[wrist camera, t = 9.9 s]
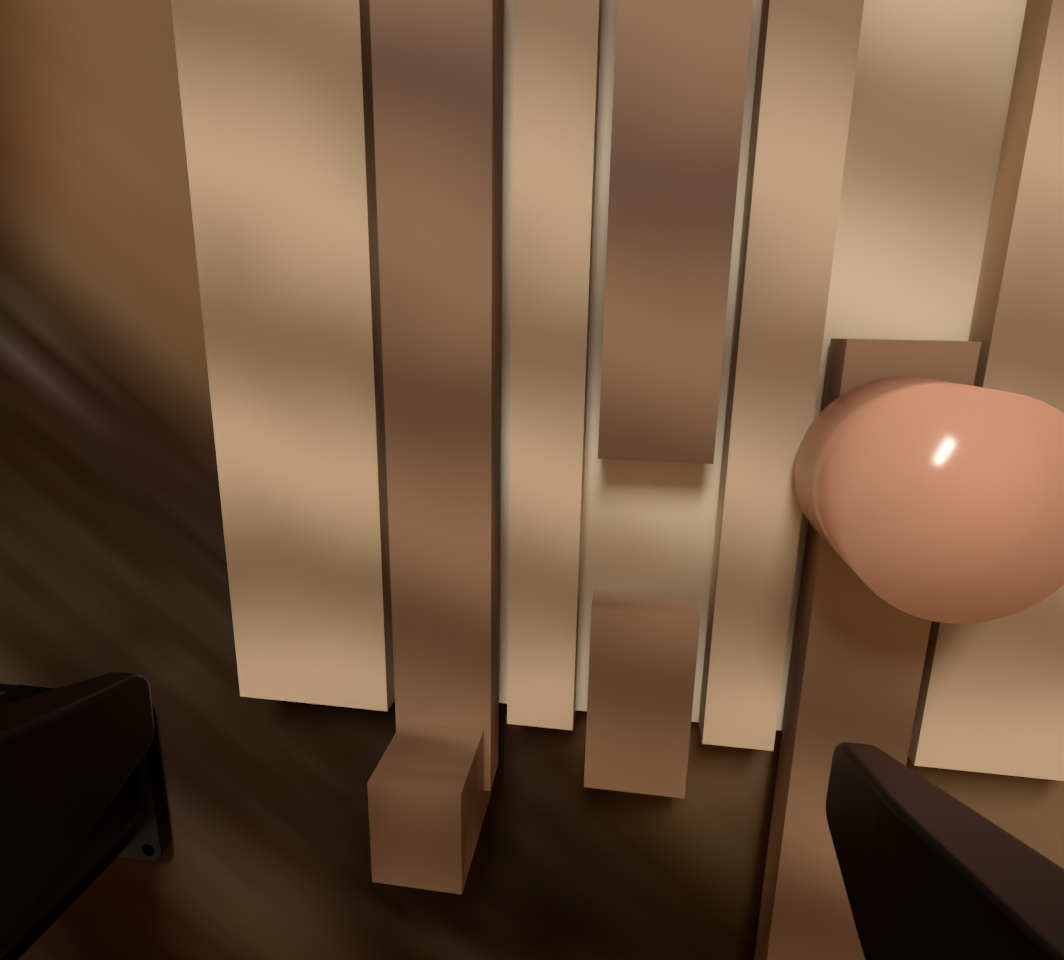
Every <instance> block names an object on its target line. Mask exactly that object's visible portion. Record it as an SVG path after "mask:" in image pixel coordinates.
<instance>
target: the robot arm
mask: <svg viewBox="0 0 1064 960" xmlns="http://www.w3.org/2000/svg"><path fill="white" fill-rule="evenodd" d="M153 735H154V721H153V712H152V703H151V693H150V686H149V682H148V680H147V679H146V678H145V677H144V676H142V675H140V674H131V673H121V672H113V673H109V674H105V675H102V676H99V677H95V678H92V679H89V680H85V681H82V682H79V683H75V684H72V685H68V686H65V687H62V688H58V689H54V688H44V687H35V686H25V685H18V686H16V685H7V684H0V960H18V959H19V958H20V957H21V956H22V955H23V954H24V953H25V952H26V951H27V950H28V949H29V948H30V947H31V946H32V945H33V944H34V943H35V942H36V941H37V940H38V938H39V937H40V936H41V935H42V934H43V933H44V932H45V931H46V930H47V929H48V928H49V927H50V926H51V925H52V924H53V923H54V922H55V921H56V920H57V919H58V918H59V917H60V916H61V915H62V914H63V913H64V911H65V910H66V909H67V908H68V907H69V906H70V905H71V904H72V903H73V902H74V901H75V900H76V899H77V898H78V897H79V896H80V895H81V894H82V893H83V892H84V891H85V890H86V889H87V888H88V887H89V886H90V884H91V883H92V882H93V881H94V880H95V879H96V878H97V877H98V876H99V875H100V874H101V873H102V872H103V871H104V870H105V869H106V868H107V867H108V866H109V865H110V864H111V863H112V862H113V861H114V860H115V858H116V857H122V858H129V859H136V860H143V861H150V862H152V861H156V860H158V859H159V858H160V857H161V856H162V855H163V854H164V852H165V851H166V850H167V848H168V838H167V830H166V823H165V816H164V808H163V801H162V794H161V787H160V779H159V772H158V765H157V758H156V750H155V743H154V736H153ZM826 817H827V822H828V826H829V830H830V834H831V837H832V841H833V845H834V848H835V852H836V856H837V860H838V863H839V867H840V871H841V874H842V878H843V882H844V885H845V889H846V893H847V896H848V900H849V904H850V908H851V911H852V915H853V919H854V922H855V926H856V930H857V933H858V937H859V940H860V943H861V947H862V950H863V954H864V957H865V960H1064V869H1063V868H1062V867H1060V866H1059V865H1057V864H1055V863H1054V862H1052V861H1051V860H1049V859H1048V858H1046V857H1045V856H1043V855H1042V854H1040V853H1039V852H1037V851H1036V850H1034V849H1032V848H1031V847H1029V846H1028V845H1026V844H1025V843H1023V842H1022V841H1020V840H1019V839H1017V838H1016V837H1014V836H1012V835H1011V834H1009V833H1008V832H1006V831H1005V830H1003V829H1002V828H1000V827H999V826H997V825H996V824H994V823H993V822H991V821H989V820H988V819H986V818H985V817H983V816H982V815H980V814H979V813H977V812H976V811H974V810H973V809H971V808H970V807H968V806H966V805H965V804H963V803H962V802H960V801H959V800H957V799H956V798H954V797H953V796H951V795H950V794H948V793H947V792H945V791H943V790H942V789H940V788H939V787H937V786H936V785H934V784H933V783H931V782H930V781H928V780H927V779H925V778H924V777H922V776H920V775H919V774H917V773H916V772H914V771H913V770H911V769H910V768H908V767H907V766H905V765H904V764H902V763H901V762H899V761H897V760H896V759H894V758H893V757H891V756H890V755H888V754H887V753H885V752H884V751H882V750H881V749H879V748H878V747H876V746H873V745H870V744H860V743H849V742H840V743H839V744H838V745H836V747H835V749H834V752H833V757H832V763H831V770H830V776H829V783H828V789H827V796H826Z"/></svg>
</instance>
